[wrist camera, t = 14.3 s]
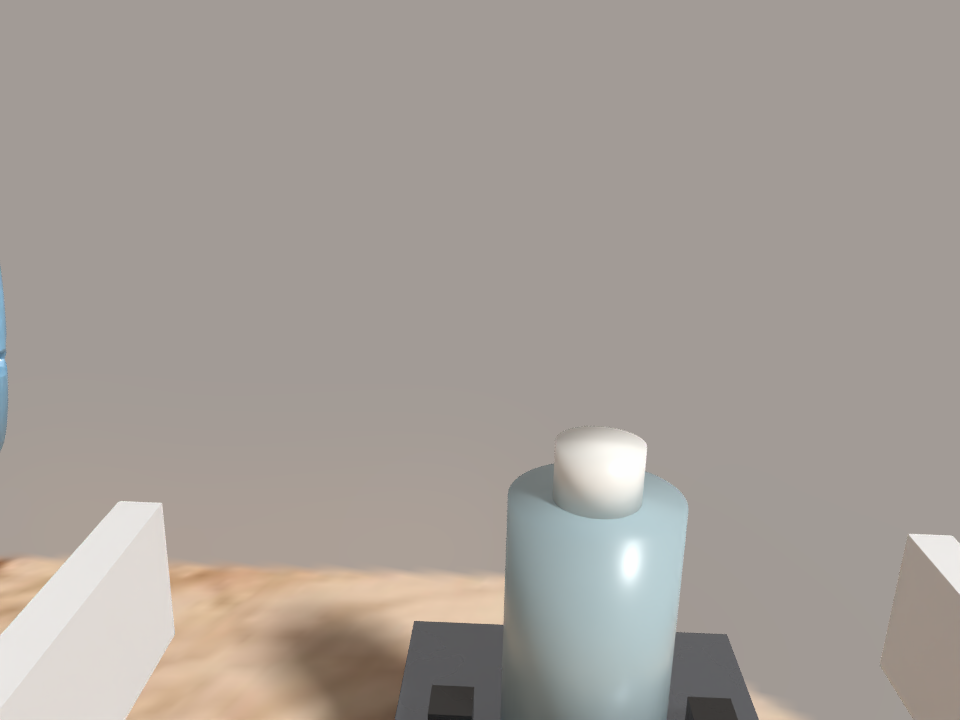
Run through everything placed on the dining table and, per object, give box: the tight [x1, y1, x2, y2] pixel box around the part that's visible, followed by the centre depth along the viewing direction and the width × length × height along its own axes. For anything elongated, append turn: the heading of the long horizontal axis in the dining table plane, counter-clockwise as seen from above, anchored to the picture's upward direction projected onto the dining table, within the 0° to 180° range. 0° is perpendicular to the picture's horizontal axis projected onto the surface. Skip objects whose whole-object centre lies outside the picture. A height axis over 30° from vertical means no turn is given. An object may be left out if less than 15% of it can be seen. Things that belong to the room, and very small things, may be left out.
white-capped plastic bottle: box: [500, 426, 688, 720], centre depth 30 cm, size 6×6×12 cm
